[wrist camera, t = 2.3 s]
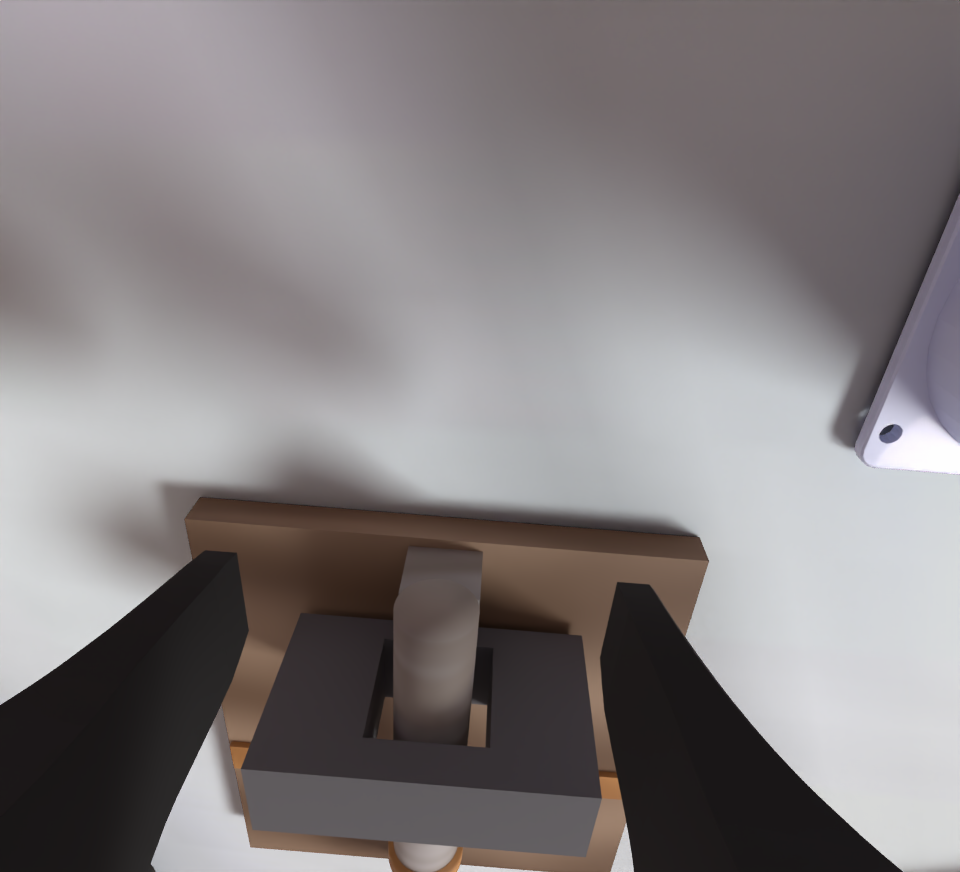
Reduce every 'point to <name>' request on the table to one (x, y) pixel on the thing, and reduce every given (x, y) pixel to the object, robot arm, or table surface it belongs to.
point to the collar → (426, 746)
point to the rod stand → (434, 629)
